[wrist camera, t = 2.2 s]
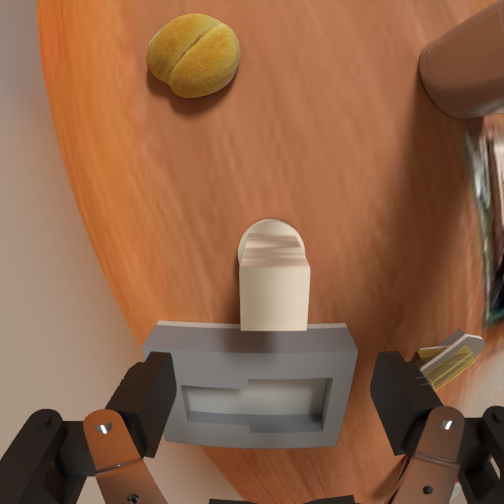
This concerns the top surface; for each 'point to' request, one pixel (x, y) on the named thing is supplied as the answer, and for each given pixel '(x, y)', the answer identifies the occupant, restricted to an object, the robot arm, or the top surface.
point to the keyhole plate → (256, 384)
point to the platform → (448, 357)
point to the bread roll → (194, 55)
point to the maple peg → (273, 278)
